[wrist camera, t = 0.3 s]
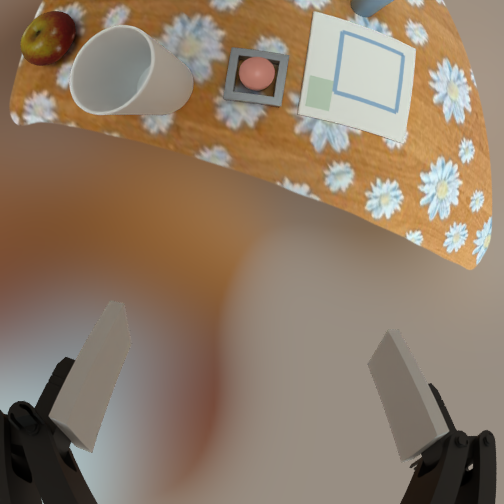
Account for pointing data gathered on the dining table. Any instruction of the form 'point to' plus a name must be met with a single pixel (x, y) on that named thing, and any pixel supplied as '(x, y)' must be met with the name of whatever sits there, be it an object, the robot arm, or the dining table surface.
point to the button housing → (253, 98)
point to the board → (357, 77)
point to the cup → (128, 75)
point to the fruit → (48, 38)
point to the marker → (368, 6)
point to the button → (256, 73)
